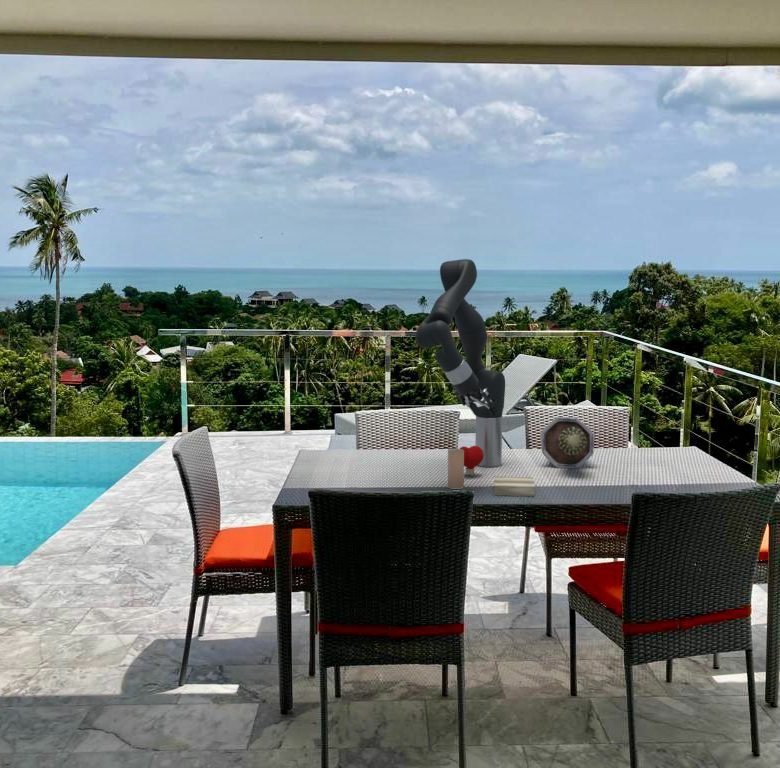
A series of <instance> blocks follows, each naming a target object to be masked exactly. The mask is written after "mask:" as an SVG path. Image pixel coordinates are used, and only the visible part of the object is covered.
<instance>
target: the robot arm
mask: <svg viewBox="0 0 780 768" xmlns="http://www.w3.org/2000/svg"><path fill="white" fill-rule="evenodd" d="M439 275H440V280H441V284H442V286H443V289H444V293H442V294H440V296H439V297H437V299H436V300H435V302H434V304H433V306H432V309H431V310H430V313H429V314H428V315H427V316H426V317H425V318H424V319H423V320H422V322H421V323H420V324H419V326H417V329H416V333H415V341H416V343H417V345H418V346H419V347H421V348H422V349H431V348H434V347H437V346H441V348H440V349H438V350H437V351H436V353H435V357H434V358H435V359H436V362H437V363H438V364H439V366H440V368H441V369H442V370H443V372H444V374H445V376H446V378H447V379H448V380H449V382H450V385H452V387H453V388H454V389H455V391H454V394H455V396H456V397H457V399H458V401H459V402H460V403H461V405H462V406H463V407H465V406H466V407H467V408H469V409H470V411H471V412H472V414H473V415H474V416H475V442H474V443H475V444H474V446H478V447H480V448H481V449H482V451H483V453H484V457H483V460H482V462H481V463H480V464H479V465H477V467H478V466H479V467H485V468H488V467H489V468H495V467H496V468H497V467H500V466H502V462H503V461H502V455H503V454H502V452H503V411H504V406H505V396H506V379H505V375H504V373H503V372H502V371H500V370H493V369H492V370H490V369H485V368H484V365H483V361H482V354H483V353H484V349H485V347H486V344H487V341H488V332H487V329H486V325H485V320H484V319H483V316H482V315H481V314H480V313H479V311H477V310H476V309H475V308H474V307H473V306H472V305H471V304H470V303H469V302H468V301H467V300H466V299H465V298H466V297H467V296H468V293H469V292H470V291H471V290H472V288H473V287H474V285H475V284H476V281H477V277H478V272H477V266H476V263H475V262H474V261H473V260H472V259H468V258H463V259H455V260H447V261H444V262H443V263H441V265H440V268H439ZM453 318H454V321H455V325H456V329H457V332H458V333H457V334H458V336H459V340H460V343H461V345H462V349H463V353H464V357H465V359H464V358H463V356H462V355H461V353H460V352H459V350H458V349H457V347H456V344H455V340H454V336H453V335H452V330H451V328H450V325H451V323H452V321H453ZM482 399H483V400H482ZM476 403H477V404H479V406H478V405H477V404H476Z"/></svg>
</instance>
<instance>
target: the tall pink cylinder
mask: <svg viewBox="0 0 780 768" xmlns="http://www.w3.org/2000/svg"><path fill="white" fill-rule="evenodd" d="M464 471H465V466H464V450H463V449H460V448H449V449H447V489H448V488H460V489H461V490H464V488H465V484H464V483H465V477H464V476H465V472H464ZM461 487H464V488H461Z"/></svg>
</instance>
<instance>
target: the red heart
mask: <svg viewBox="0 0 780 768" xmlns="http://www.w3.org/2000/svg"><path fill="white" fill-rule="evenodd" d="M459 449H463V450H464V468H465V475H467V476H468V477H472V476H473V475H475V468H476V467H478V465H479V464H480V463H481V462H482V460H483V457H484V453H483V451H482V449H481V448H480V447H478V446H475V445H473V446H470V447H468V446H461V447H459Z"/></svg>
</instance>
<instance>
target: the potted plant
mask: <svg viewBox="0 0 780 768" xmlns="http://www.w3.org/2000/svg"><path fill="white" fill-rule="evenodd" d="M540 435H541V436H540V439H541V453H542V454H543V456H544V457H545V458H546V459H547V461H549V462H550V463H551V464H552V465H553V466H554V467H555V468H557V467H558V469H579V468H581V467H582V466H583V465H584V464H585V463H586V462H587V461H589V460H590V458H591V457H592V456H593V455H594V444H595V443H594V433H593V431H592V430H591V429H590V428H589V427H588V426H587V425H586V424H585V423H584V422H582V421H581V420H580V419H579V418H576V417H562V416H561V417H560V416H559V417H558V416H557V417H555V418H554V419H553V420H551V421H550V423H549V424H547V425H546V426H545V427H544V428H543V429H542V430H541V434H540Z"/></svg>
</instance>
